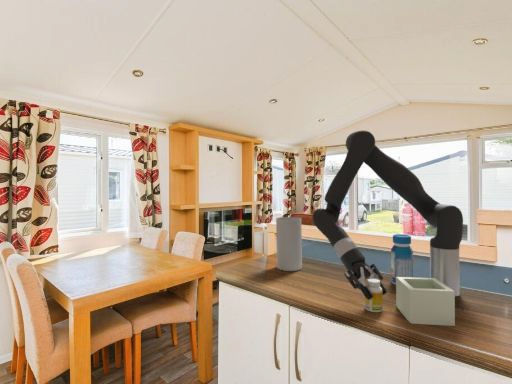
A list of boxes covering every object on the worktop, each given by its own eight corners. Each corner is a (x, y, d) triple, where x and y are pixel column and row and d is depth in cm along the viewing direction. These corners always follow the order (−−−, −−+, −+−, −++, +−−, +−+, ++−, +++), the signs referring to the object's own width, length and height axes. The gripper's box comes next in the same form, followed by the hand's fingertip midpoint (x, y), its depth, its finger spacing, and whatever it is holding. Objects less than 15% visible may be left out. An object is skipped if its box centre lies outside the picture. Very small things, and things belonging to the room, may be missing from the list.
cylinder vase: (272, 266, 145) (271, 218, 145) (292, 263, 151) (291, 216, 150) (286, 273, 134) (285, 220, 134) (307, 269, 140) (306, 218, 139)
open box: (396, 306, 95) (396, 276, 95) (434, 308, 94) (434, 278, 94) (410, 323, 84) (410, 289, 83) (454, 325, 82) (454, 291, 82)
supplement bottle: (362, 309, 94) (362, 280, 93) (368, 304, 97) (368, 276, 97) (379, 314, 90) (378, 284, 90) (385, 308, 94) (384, 280, 94)
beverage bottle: (403, 288, 112) (402, 237, 112) (386, 281, 120) (385, 234, 120) (418, 285, 115) (418, 236, 115) (400, 279, 123) (400, 233, 123)
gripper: (340, 249, 96) (371, 295, 86) (367, 244, 103) (398, 286, 94) (328, 261, 101) (356, 306, 91) (356, 256, 108) (384, 296, 98)
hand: (378, 296), depth 92 cm, fingers open, 6 cm apart
